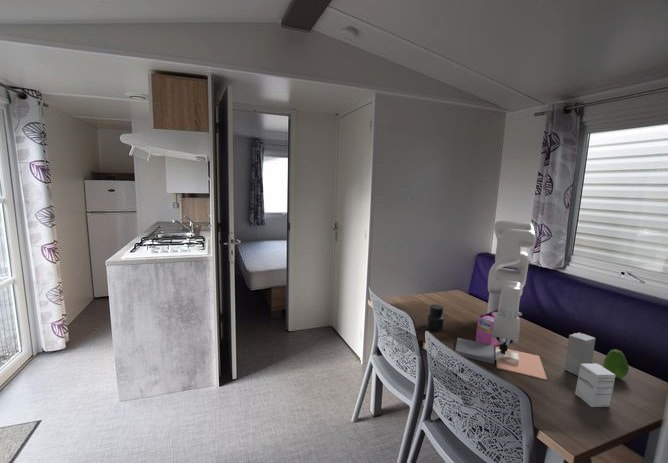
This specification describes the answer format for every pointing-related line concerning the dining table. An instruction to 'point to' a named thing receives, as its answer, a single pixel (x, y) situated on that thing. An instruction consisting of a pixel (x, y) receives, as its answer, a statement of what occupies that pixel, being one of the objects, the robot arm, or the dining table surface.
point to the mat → (524, 365)
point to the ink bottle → (435, 318)
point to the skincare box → (579, 352)
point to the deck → (475, 350)
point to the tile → (507, 356)
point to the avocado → (616, 363)
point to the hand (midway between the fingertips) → (502, 351)
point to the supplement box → (595, 385)
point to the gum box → (486, 329)
